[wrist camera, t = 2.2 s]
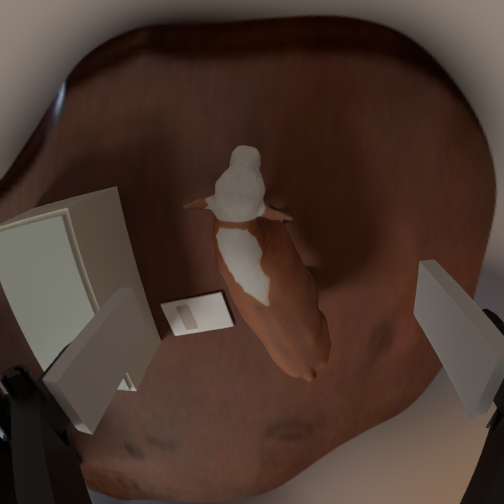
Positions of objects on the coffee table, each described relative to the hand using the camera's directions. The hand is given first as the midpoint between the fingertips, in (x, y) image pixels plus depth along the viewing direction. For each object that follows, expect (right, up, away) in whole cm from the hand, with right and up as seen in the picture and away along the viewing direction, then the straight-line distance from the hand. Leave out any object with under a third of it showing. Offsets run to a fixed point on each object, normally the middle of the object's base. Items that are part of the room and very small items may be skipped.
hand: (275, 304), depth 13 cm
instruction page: (-5, -3, +10) cm, 11 cm away
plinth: (-14, 0, +9) cm, 17 cm away
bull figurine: (0, +3, +8) cm, 8 cm away
